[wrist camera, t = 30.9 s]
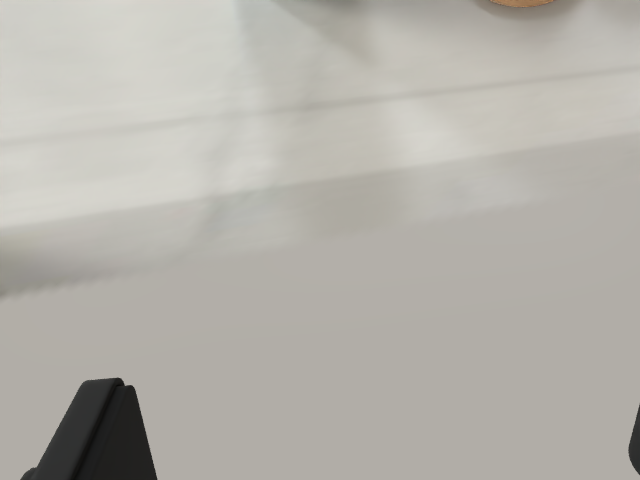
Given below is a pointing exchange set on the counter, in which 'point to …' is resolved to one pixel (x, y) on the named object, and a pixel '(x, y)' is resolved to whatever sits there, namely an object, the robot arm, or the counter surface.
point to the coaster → (521, 2)
